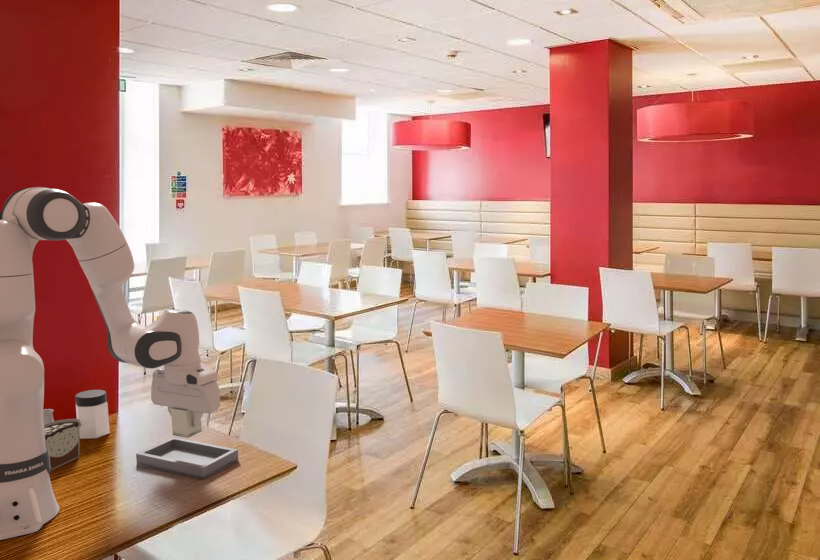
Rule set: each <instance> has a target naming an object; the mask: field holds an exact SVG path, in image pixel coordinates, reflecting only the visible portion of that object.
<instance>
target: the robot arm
mask: <svg viewBox="0 0 820 560" xmlns="http://www.w3.org/2000/svg"><path fill="white" fill-rule="evenodd" d="M121 229H122V228H120V225H119V224H118V223H117V221H116V220H115V218H114V216H113V215H112V213H111V212H110V211H109V209H108V208H107V207H106V206H104V205H103V204H102V203H98V202H85V203H82V202H81V201H79V199H77V198H76V197H75V196H73V195H72V194H70V193H68V192H67V191H65V190H62V189H58V188H49V187H44V186H36V187H25V188H22V189H21V188H20V189H18V190H16V191H15V192H13V193H11V194H10V195H9V196H8V198H7V199H6V201H5V202H4V204H3V206H2V208H1V210H0V541H2V540H7V539H12V538H17V537H19V536H24V535H29V534H33V533H35V532H38V531H40V529H41V528H42V527H43V525H44V524H46V523H48V522H50V521H51V520H52V519H53V518H55V517H56V516H57V515H58V513H59V512H60V506H59V504H58V501H57V499H56V496H55V493H54V489H53V487H52V482H51V477H50V476H51V475H50V474H51V471H50V457H49V452H48V449H46V444H45V433H44V421H43V410H44V401H45V366H44V362H43V359H42V357H41V356H40V355H39V354H38V353H37V352H36V351H35V349H34V345H33V344H34V343H33V341H34V340H33V339H34V337H33V336H34V333H33V332H34V320H35V313H36V298H35V297H36V296H35V295H36V294H35V281H34V280H35V279H34V265H33V257H34V256H33V254H34V250H35V247H36V245H37V244H38V242H39V241H58V242H59V241H64V240H65V241H67V243H68V244H69V246H71V248H72V250H73V252H74V254H75V257H76V258H77V261H78V263H79V266H80V267H81V270H82V272H83V273H84V275H85V276H86V279H87V280H88V283H89V286H90V288H91V289H90V290H91V292H92V294H93V296H94V299H95V300H94V301H95V302H96V305H97V307H98V309H99V312H100V314H101V317H102V319H103V322H104V324H105V328H106V336H107V338H106V340H107V343H106V344H107V347H108V349H107V350H108V352H109V354H110V355H111V357H112V358H114V359H115V360H116V361H118V362H120V363H123V364H124V363H125V364H130V365H134V366H135V367H141V368H144V369H156V368H157V369H156V370H154V371H153V373H152V380H151V388H150V389H151V392H150V399H151V403H152V404H153V405H156V406H160V407H161V406H162V407H167V411H168V413H169V415H170V416H171V408H179V409H185V410H191V411H193V412H194V415H195V418H194V420H191V423H192V424H191V426H192V427H199V426H200V425H201V426H202V417H203V416H204V414H212V413H215V412H217V411H218V410H219V409H220V407H221V393H220V387H219V384H218V383H217V381H216V380H217V379H218V376H219V375H218V372H217V371H216V370H214V369H213V368H210V367H209V366H207V365H206V364H205V363H203V362H202V361H201V356H200V353H199V348H200V347H199V346H200V332H199V327H198V326H199V325H198V320H197V317H196V315H195V313H193V312H192V311H189V310H185V309H176V308H175V309H173V308H172V309H171V308H169V309H166V310H165V309H164V311H163V312H162V314H161V315H159V316H158V318H156V320H154V321H153V322H151V323H149V324H148V325H145V326H144V325H143V324H140V323H139V322H137V321H136V319H135V318H134V317H133V316H132V313H131V310H130V308H129V306H128V303H127V300H126V297H125V294H124V291H123V286H124V284H125V283H126V282H127V281H128V280H129V279H131V277H132V275H133V272H134V270H135V261H134V257H133V254H132V251H131V248H130V246H129V243H128V242H127V239H126V237H125V235H124V234H123V233H124V232H122V230H121ZM160 367H163V369H161V368H160ZM200 419H201V421H200Z"/></svg>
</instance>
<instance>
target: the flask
mask: <svg viewBox="0 0 820 560" xmlns="http://www.w3.org/2000/svg"><path fill="white" fill-rule="evenodd" d="M53 412H54V409H51V408H48V409H47V408H45V409H43V421H44V425H45V424H47V423H50V422H54V421H55V420H54V414H53Z"/></svg>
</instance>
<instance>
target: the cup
mask: <svg viewBox="0 0 820 560" xmlns="http://www.w3.org/2000/svg"><path fill="white" fill-rule="evenodd" d="M170 417H171V429H172V436H173V437H180V438H184V439H188V438H191V437H194V436H195V435H197V434H199V433H202V430H203V428H202V427H203V426H202V424H201V425H200V426H199V427H192V426H191V424H192V423H191V420H194V418H195V415H194V412H193V411H191V410H185V409H179V408H171V415H170ZM200 421H201V422H202V418H201V419H200Z"/></svg>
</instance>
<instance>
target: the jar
mask: <svg viewBox="0 0 820 560" xmlns="http://www.w3.org/2000/svg"><path fill="white" fill-rule="evenodd" d="M74 400H75V413H76V415H75V416H76V419H79V420H80V422H81V426H80V437H79V440H80V439H81V440H83V439H87V440H88V439H90V440H91V439H98V438H101V437H103V436H106V435H109V434H110V421H109V406H108V405H109V404H108V401H107V392H106V390H103V389H89V390H84V391H81V392H78V393H76V394H75V396H74Z"/></svg>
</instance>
